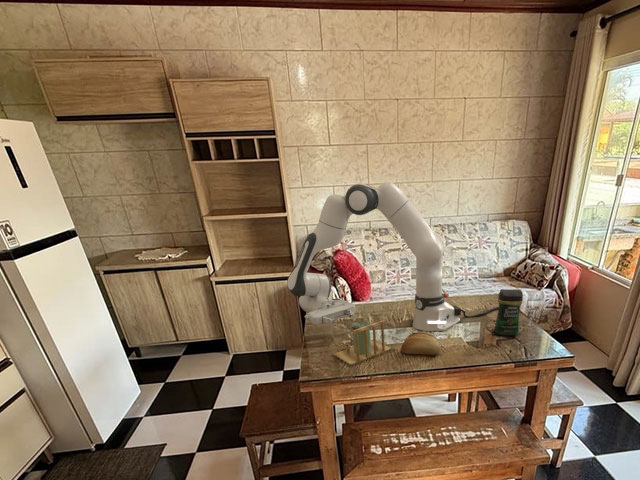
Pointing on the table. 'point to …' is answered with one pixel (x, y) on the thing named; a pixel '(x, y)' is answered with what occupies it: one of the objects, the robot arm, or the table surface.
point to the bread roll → (421, 344)
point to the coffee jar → (508, 312)
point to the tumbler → (361, 337)
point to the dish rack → (376, 346)
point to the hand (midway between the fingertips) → (342, 318)
